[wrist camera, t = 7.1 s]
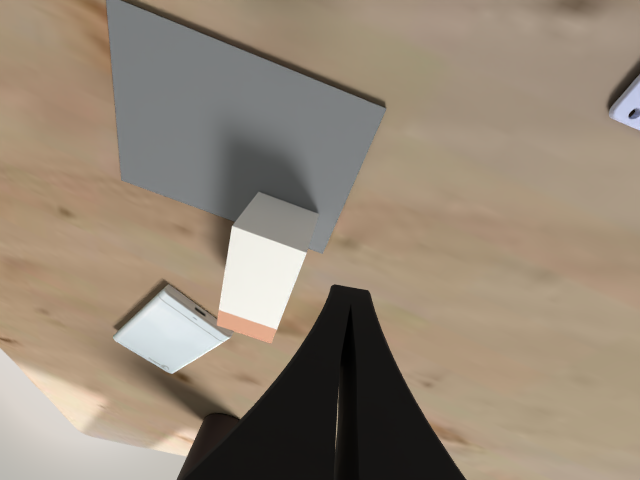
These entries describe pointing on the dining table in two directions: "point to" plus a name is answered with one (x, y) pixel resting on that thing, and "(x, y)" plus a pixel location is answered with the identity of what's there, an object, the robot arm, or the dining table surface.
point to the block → (263, 265)
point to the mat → (230, 123)
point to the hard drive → (171, 331)
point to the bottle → (207, 438)
